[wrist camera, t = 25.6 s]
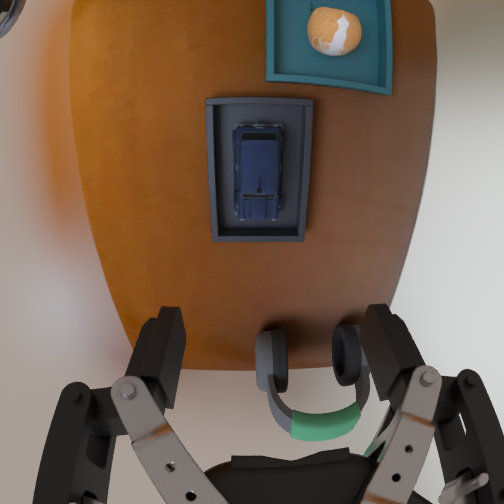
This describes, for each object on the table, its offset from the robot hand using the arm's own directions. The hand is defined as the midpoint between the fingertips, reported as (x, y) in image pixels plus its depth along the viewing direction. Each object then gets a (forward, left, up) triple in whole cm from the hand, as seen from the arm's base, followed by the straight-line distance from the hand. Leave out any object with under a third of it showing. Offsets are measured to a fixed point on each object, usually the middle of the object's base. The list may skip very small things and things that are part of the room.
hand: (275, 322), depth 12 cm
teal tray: (-18, +8, -26) cm, 33 cm away
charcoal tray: (0, 0, -26) cm, 26 cm away
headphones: (+30, +9, -26) cm, 41 cm away
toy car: (0, 0, -26) cm, 26 cm away
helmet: (-18, +8, -26) cm, 32 cm away
